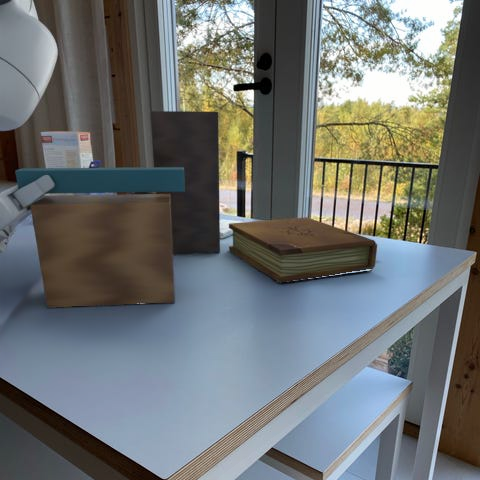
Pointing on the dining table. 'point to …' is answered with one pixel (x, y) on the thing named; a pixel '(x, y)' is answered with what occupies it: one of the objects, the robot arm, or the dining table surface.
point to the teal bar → (107, 179)
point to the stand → (191, 176)
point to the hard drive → (226, 228)
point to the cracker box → (67, 150)
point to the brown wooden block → (105, 249)
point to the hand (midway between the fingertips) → (56, 177)
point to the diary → (301, 248)
